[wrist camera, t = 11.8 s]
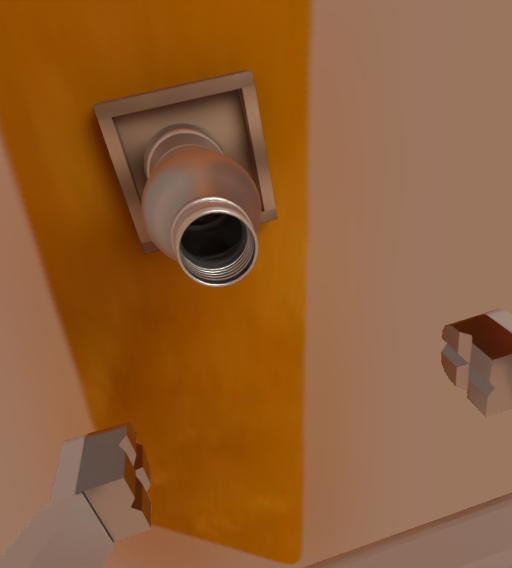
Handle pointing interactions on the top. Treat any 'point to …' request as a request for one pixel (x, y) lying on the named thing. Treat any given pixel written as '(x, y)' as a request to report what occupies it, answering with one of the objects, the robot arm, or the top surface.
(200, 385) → the top surface
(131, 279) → the top surface
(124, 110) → the walnut tray
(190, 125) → the silver metal bottle
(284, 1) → the top surface
